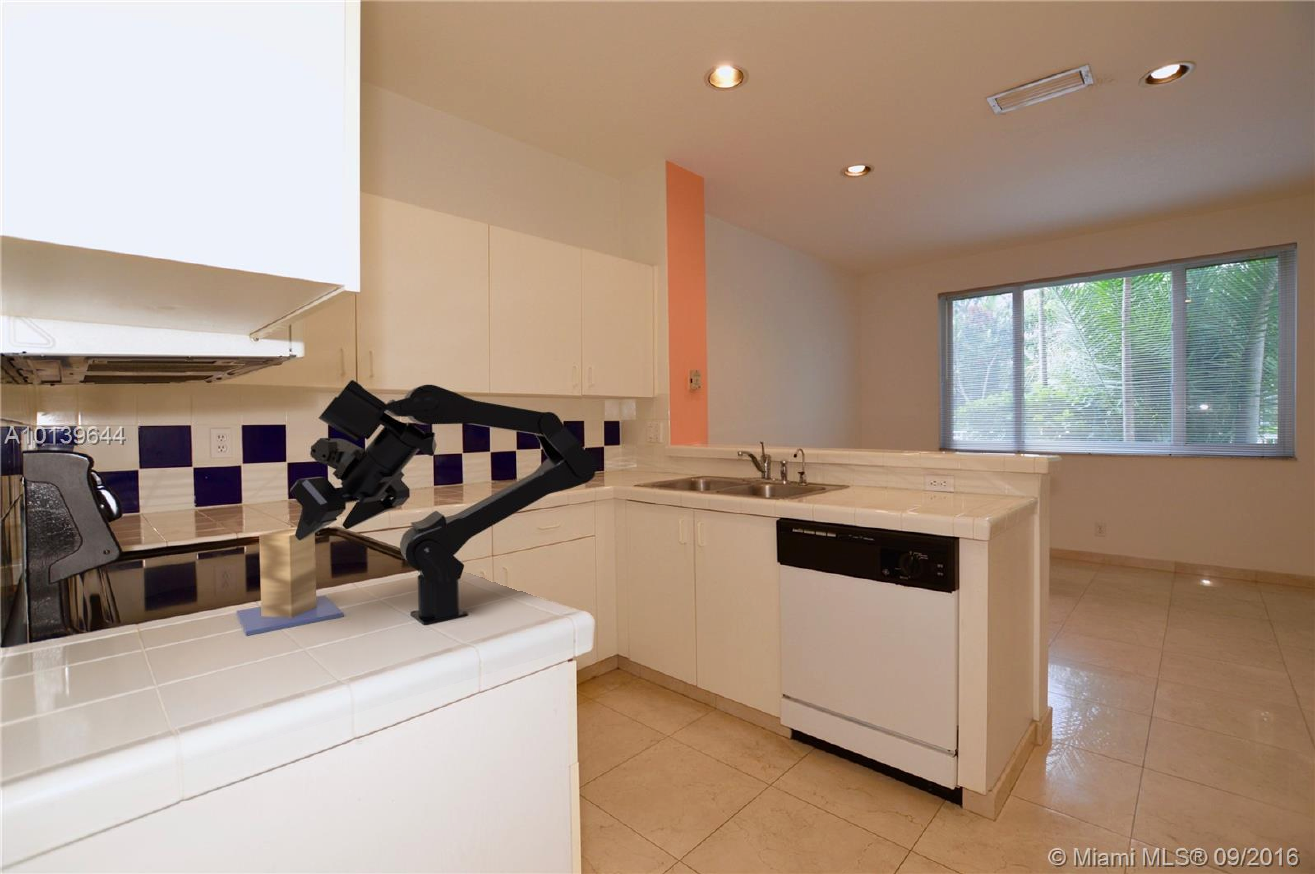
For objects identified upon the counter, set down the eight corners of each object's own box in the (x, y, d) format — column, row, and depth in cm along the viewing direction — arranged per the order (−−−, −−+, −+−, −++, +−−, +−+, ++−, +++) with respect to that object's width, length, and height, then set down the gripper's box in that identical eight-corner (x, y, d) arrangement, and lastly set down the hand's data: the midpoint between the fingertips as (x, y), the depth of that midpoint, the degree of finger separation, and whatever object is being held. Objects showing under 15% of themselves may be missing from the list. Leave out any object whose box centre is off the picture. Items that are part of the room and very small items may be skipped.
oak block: (316, 607, 92) (314, 529, 92) (291, 617, 87) (289, 535, 87) (287, 605, 93) (285, 528, 93) (261, 616, 88) (259, 535, 88)
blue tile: (343, 616, 89) (343, 612, 89) (246, 635, 82) (246, 631, 82) (325, 598, 98) (325, 595, 98) (236, 614, 91) (236, 610, 91)
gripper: (391, 419, 97) (334, 487, 99) (299, 418, 79) (232, 501, 81) (436, 467, 95) (377, 536, 98) (353, 477, 77) (283, 561, 80)
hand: (322, 532), depth 89 cm, fingers open, 9 cm apart
